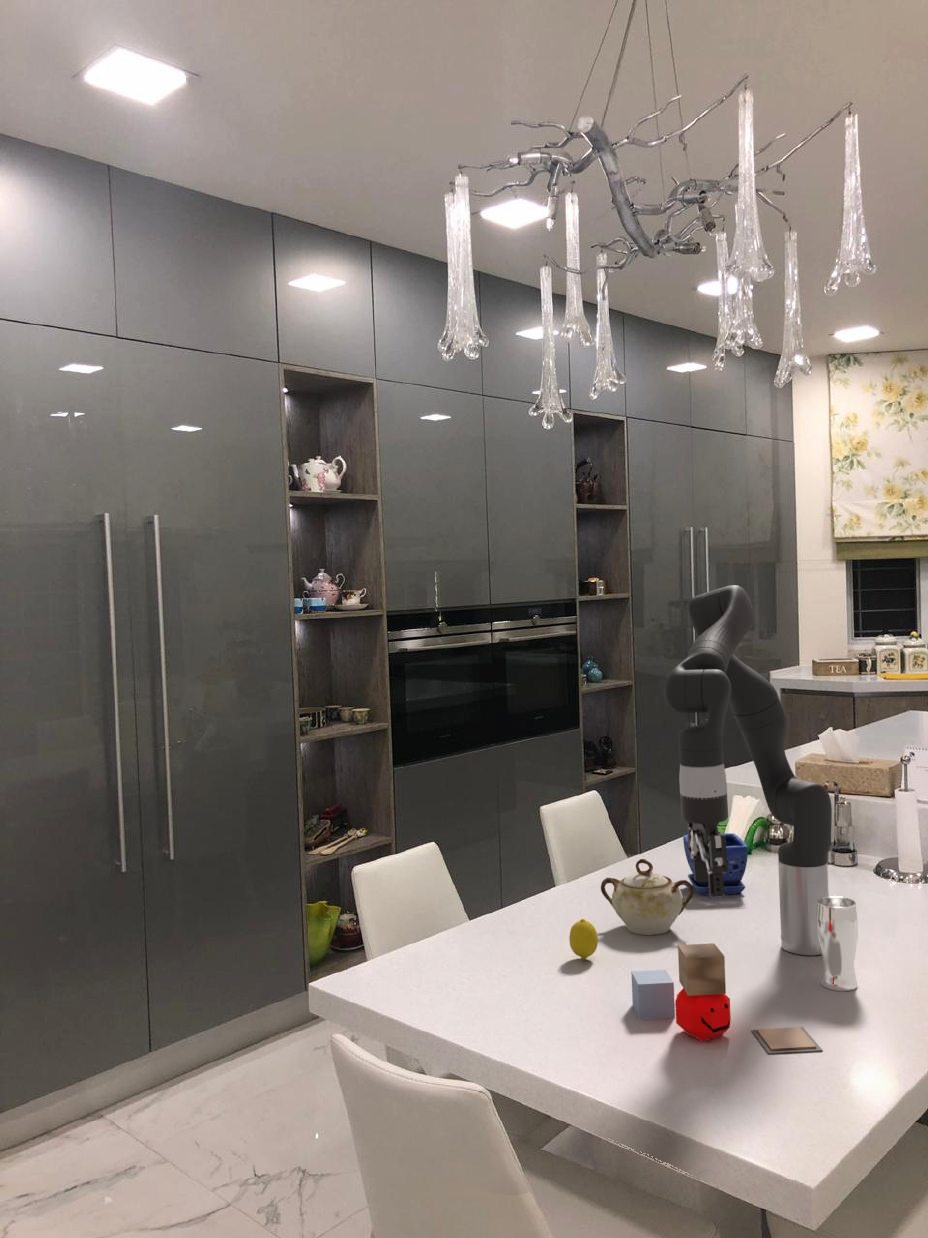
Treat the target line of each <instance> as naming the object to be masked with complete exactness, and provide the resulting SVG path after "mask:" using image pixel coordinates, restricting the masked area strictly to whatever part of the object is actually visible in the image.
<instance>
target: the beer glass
mask: <svg viewBox="0 0 928 1238" xmlns="http://www.w3.org/2000/svg"><path fill="white" fill-rule="evenodd" d="M858 919H859V917H858V911H857V902H856V900H854V899H852V898H848V897H844V896H836V895H833V896H832V895H831V896H830V895H829V896H828V897H822V898H819V899H818V900H817V933H818V939H819V944H820V949H821V953H822V954H821V958H822V974H821V982H820V983H821V985H822V987H824V988H826V989H828V990H831V991H837V992H849V991H854V990H855V989H857V988H858V980H857V976H856V975H857V974H856V970H855V960H856V954H857V953H856V952H857V946H858V938H859V921H858Z"/></svg>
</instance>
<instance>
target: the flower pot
mask: <svg viewBox="0 0 928 1238" xmlns="http://www.w3.org/2000/svg"><path fill="white" fill-rule="evenodd" d="M720 834H721V835H723V834H724V835H725V837H726V850H727V864H728V872H726V873H723V884H724V895H736V894H741V893H742V892H743V891H744V890H745V888H746V885H745V884H744V883H743V881H742V879H743V877H744V875H745V872H746V869H747V863H748V855H749V847H748V845H747V844H746V843H745V841H744V840H743V839H741V837H740V836H739V835H737V834H736V833H731V832H729V833H728V832H727V833H721V832H720ZM682 839H683V848H684V853H685V856H686V861H687V863H688V866H689V868H690V871H691V873H688V874H687V877H688V879H689V882H690V883H691V885H692V886H693V888H694V889H695V890H696V891H697V892H698V893H699V894H700V895H702V896H707V895H708V896H710V894H709V880H708V881H706V882H696V881H695V879H694V863H693V860H695V859H692V857H691V852H689V850H688V834H684V835H683V837H682ZM715 865H718V862H717V861H715Z"/></svg>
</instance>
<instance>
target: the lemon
mask: <svg viewBox="0 0 928 1238" xmlns="http://www.w3.org/2000/svg"><path fill="white" fill-rule="evenodd" d="M568 938H569V939H568V940H569V946H570V949H571V951H572V952H573V953H574V954H575V955H576V956H577V957H580V958H581V959H582V960H587V959H588V957H591V956H593V954H595V952H596V950H597V948H598V944H599V936H598V932H597V930H596V928H595V926H594V925H593V923H591V922H590V921H588V920H586V918H585V919H584V918H581V919H580V920H579V921H576V922H575V923H574V924H573V925H572V926H571V928H570V931H569V937H568Z"/></svg>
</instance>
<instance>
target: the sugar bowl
mask: <svg viewBox="0 0 928 1238" xmlns="http://www.w3.org/2000/svg"><path fill="white" fill-rule="evenodd" d="M640 864H645V865H647V866H648V869H647V870H641V868H640ZM635 869H636V873H633V874H631V875H628V876H626V877H624V878H622V879H621V880H619V879H617V878H613V877H605V878H604V879H603V880H602V882H601V884H600V892H601V893H602V896H603V897H604V898H605V899H606V900H607V901H608V902H609V903H610V905H611V907H612V908H613V909H614V911H615V913H616V915H617V916H618V917H619V918H620V920H621V921H622V922H623V923H624V924H625V926H626V928H627V929H628V931H629V932H630V933H634V934H636V935H641V936H643V935H644V936H655V935H656V936H657V935H661V934H664V933H666V932H668V931H669V930H670V928H671V927H672V926H673V924H674V922H675V921H676V920H677V918H678V916H680V915H681V914H682V913H683V912H684V909H685V908H686V907H687V905H688V904H689V902H691V900H692V899H693V896H694V894H695V893H694V891H695V890H694V889H695V888H694V886H693V884H692V883H691V881H688V880H687V879H682V880H681V879H680V880H678V881H676V882H673V879H671V877H668V876H665V875H661V874H659V873H656V872H653V870H654V866H653V864H652V863H651V862H650V861H648V860H647V859H645V858H641V859H639V860H637V861H636V863H635ZM607 884H611V885H612V886H613V891H612V893H611V894H612V895H611V896H610V895H609V894H608V892H607V891H606V888H605V887H606V885H607ZM680 886H686V887H687V888H688V890H689V891H688V892H689V893H688V895H687V898H686V899H685V900H684V897H683V893H682V891H681V889H680Z"/></svg>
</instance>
